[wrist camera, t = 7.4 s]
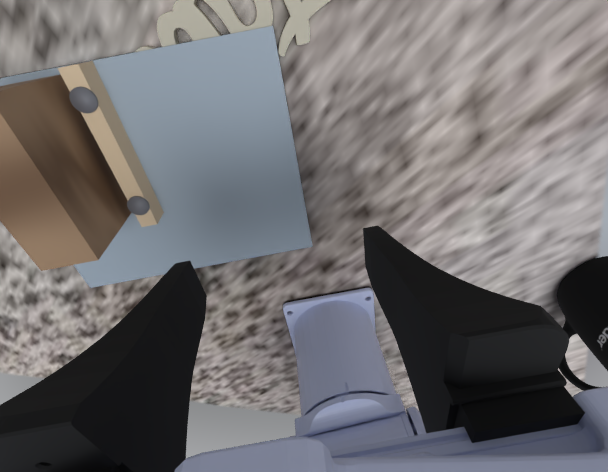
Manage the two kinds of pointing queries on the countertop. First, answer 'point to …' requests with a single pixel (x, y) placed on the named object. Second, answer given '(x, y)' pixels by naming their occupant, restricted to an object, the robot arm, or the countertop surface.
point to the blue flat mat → (192, 153)
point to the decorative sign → (235, 21)
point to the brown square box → (55, 177)
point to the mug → (586, 311)
